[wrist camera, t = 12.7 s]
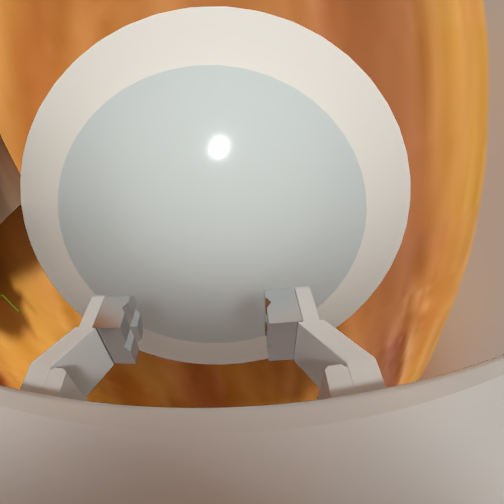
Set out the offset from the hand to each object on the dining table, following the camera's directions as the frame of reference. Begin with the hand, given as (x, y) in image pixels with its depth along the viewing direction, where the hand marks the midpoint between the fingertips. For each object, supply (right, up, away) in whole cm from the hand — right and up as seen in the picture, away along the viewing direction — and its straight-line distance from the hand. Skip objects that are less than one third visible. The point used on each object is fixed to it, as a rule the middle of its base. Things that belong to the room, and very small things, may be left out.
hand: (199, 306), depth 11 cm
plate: (0, +3, +5) cm, 6 cm away
